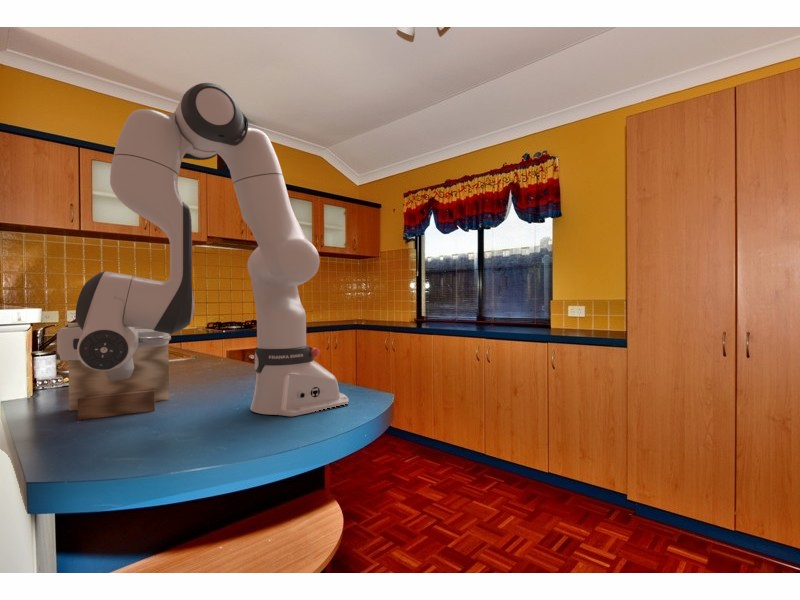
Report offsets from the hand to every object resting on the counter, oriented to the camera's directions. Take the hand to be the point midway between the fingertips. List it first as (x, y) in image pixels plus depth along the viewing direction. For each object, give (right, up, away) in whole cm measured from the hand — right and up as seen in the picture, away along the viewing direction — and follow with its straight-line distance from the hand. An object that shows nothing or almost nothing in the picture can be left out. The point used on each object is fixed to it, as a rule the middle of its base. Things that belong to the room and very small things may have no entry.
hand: (119, 336), depth 96 cm
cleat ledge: (+1, -17, -1) cm, 17 cm away
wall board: (-2, -17, +4) cm, 18 cm away
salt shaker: (+1, -10, -1) cm, 10 cm away
